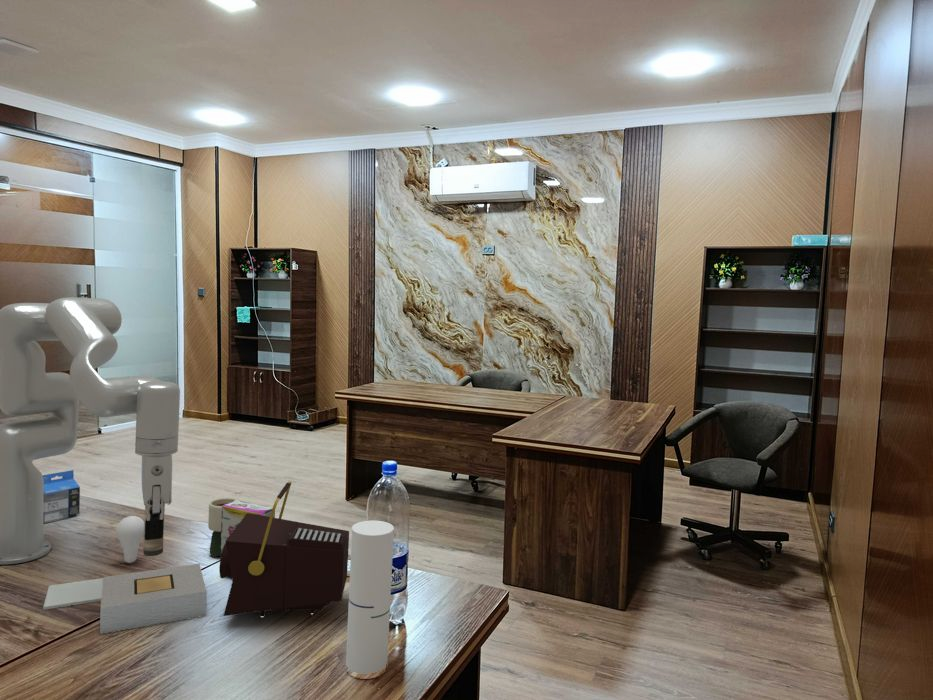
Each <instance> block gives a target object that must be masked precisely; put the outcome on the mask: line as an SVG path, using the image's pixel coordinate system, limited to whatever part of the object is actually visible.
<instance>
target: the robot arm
mask: <svg viewBox="0 0 933 700" xmlns="http://www.w3.org/2000/svg"><path fill="white" fill-rule="evenodd" d="M121 313H122V312H121V311H120V309H119V307H118V306H117V305H116V304H115V303H114V302H113V301H111V300H110V299H109V300H108V299H106V298H97V297H71V296H70V297H61V298H57V299H55V300H52V301H50V303H48V302H45V303H44V302H20V303H19V302H17V303H11V304H7V305H4V306H3V307H2V308H0V410H1V412H2V413H3V414H5V415H8V416H12V417H13V416H14V417H16V416H17V417H20V416H23V417H24V416H31V415H41V414H47V413H48V416H45V417H38V418H29V419H28V418H27V419H20V420H13V421H8V422H5V423H2V424H0V565H2V566H3V565H4V566H5V565H15V564H21V563H23V564H24V563H26V562H31V561H35V560H37V559H39V558H41V557H44V556H46V555H48V554H49V552H50V551H51V550H52V544H51V543H50V541H47V540H44V523H43V500H44V479H43V476H42V475H43V474H42V472H41V471H40V470H39V469H38V468H37V467H36V465H34V463H33V461H35V460H39V459H45V458H49V457H55V456H60V455H64V454H66V453H69V452H71V450H73V449H74V447H75V446H76V442H77V439H78V431H79V430H78V427H79V413H80V410H79V409H80V403H81V404H82V406H83V407H84V408H85V409H86V410H87V411H89V413H91V414H93V415H94V416H96V417H98V418H112V417H119V416H127V415H134V414H136V415H135V416H136V418H135V419H136V420H135V443H134V444H135V447H134V448H135V449H134V453H135V455H137V456H141V493H142V499H143V505H144V507H145V506H147V519H145V518H144V522H145V540H153V539H161V538H163V526H164V527H165V517H164V518H163V500H164V503H165V505H166V504H167V505H171V503H172V500H173V499H172V495H173V494H172V493H173V492H172V490H173V454H176V453H178V451H179V449H178V448H179V427H180V426H179V425H180V424H179V422H180V400H181V390H180V387H179V386H180V385H178V384H177V383H175V382H172V381H164V380H163V381H162V380H161V379H158V378H156V377H155V376H151V375H136V376H135V375H132V376H131V375H130V376H117V377H106V378H104V377H102V376H101V375H100V373H98V371H97V370H96V369H99V367H101V366H103V365H105V364H106V363H108V362H109V361H110V360H111V359H112V358H113V357H114V356H115V354H116V352H117V351H118V346H119V345H118V344H119V343H118V340H117V338H116V337H115V336H114V334H116V333H117V332H119V330H120V328H121V326H122V323H123V322H122V320H123V319H122V314H121ZM42 341H43V342H45V341H46V342H47V341H49V342H53V341H54V342H56V341H57V342H58V341H59V342H61V344H62V346H64V348H65V349H66V350H67V351H68V352H69V354H70V355H71V357H73V359H72V362H71V364H70V368H69V373H66V372H61V371H57V372H46V364H47V363H46V362H47V361H46V359H47V358H46V353H45V352H44V350H43V348H42V347H41V344H40V343H38V342H42ZM152 491H153V493H152ZM150 501H153V503H152V504H150ZM160 501H161V503H160ZM150 508H152V509H151V510H150ZM163 539H164V538H163Z"/></svg>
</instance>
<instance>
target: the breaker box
mask: <svg viewBox="0 0 933 700" xmlns="http://www.w3.org/2000/svg"><path fill="white" fill-rule="evenodd" d="M165 576H170V580H171V587H172V589H168V590H162V591H155V592H149V593H142V594H137V580H144V579H151V578H158V577H165ZM102 578H103V584H102V596H101V601H100V608H99V609H100V613H99V615H100V616H99V619H100V620H99V622H100V623H99V635H104V634H103V633H106V634H109V633H108V632H112V633H115V632H114V631H117V632H122V631H121V630H123V631H127V630H126V629H129V630H133V629H139V627H140V628H145V626H146V627H149V626H150V625H151V626H155V625H154V624H157V625H160V624H159V623H162V624H166V623H165V622H168V623H172V622H171V621H174V622H178V621H177V620H179V621H182V620H181V619H185V620H189V619H188V618H191V619H195V618H194V617H196V618H200V617H199V616H202V617H205V616H204V615H206V616H207V593H208V592H207V588H206V584H205V579H204V576H203V572H202V568H201V565H200V563H195V564H188V565H187V564H186V565H180V566H173V567H164V568H157V569H153V570H152V569H151V570H150V569H149V570H144V571H143V570H142V571H136V572H130V573H123V574H114V575H109V576H103V577H102ZM132 628H133V629H132ZM119 630H120V631H119Z"/></svg>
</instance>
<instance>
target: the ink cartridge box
mask: <svg viewBox="0 0 933 700" xmlns="http://www.w3.org/2000/svg"><path fill="white" fill-rule="evenodd" d="M42 476H43V479H44V500H43V525H44V524H49V523H52V522H58V521H62V520H65V519H70V518H76V517H78V516H80V511H81V510H80V505H81V503H80V499H81V494H80V493H81V486H80V485H79V483H78V482H77V481H76V480H75V479H74V477H75V476H74V469H70V470H66V471H59V472H54V473H48V474H42ZM56 477H58V478H57V479H55V478H56ZM60 477H61V478H60Z"/></svg>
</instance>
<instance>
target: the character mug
mask: <svg viewBox="0 0 933 700" xmlns="http://www.w3.org/2000/svg"><path fill="white" fill-rule="evenodd" d="M235 500H238V501H240V499H239V498H234V497H222V498H221V497H220V498H216V499H213V500H210V501H209V503H208V521H207V523H208V529H209V530H210V531H212V534H211V539H210V544H209V555H211V556H213V557H221V523H222V506H223V505H225V504H228V503H230V502H232V501H235Z"/></svg>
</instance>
